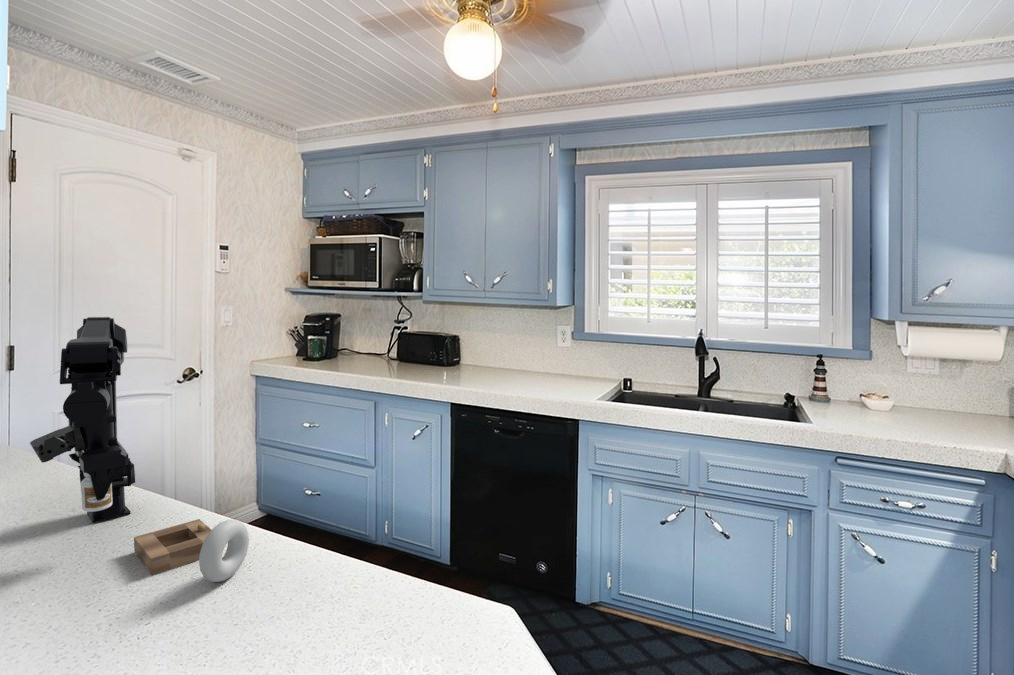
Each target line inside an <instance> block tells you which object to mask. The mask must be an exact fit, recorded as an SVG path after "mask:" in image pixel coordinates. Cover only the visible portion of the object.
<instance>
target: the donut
mask: <svg viewBox="0 0 1014 675" xmlns="http://www.w3.org/2000/svg"><path fill="white" fill-rule="evenodd" d="M249 535H250V534H249V531H248V528H247V527H246V525H245V524H244V523H243V522H242V521H241V520H238V519H227V520H224V521H221V522H219V523H218V524H217V525H215V526H214V527H213V528H212V529H211V532H210V533H209V534H208V535H207V537H206V539H205V541H204V543H203V545H202V548H201V551H200V556H199V560H198V563H199V571H200V572H201V575H202V577H203V578H204V579H206V580H207V581H210V582H212V583H217V582H224V581H226V580H227V579H229V578H231V577H232V576H233V575H235V573H236V572H238V571H239V569H240V568H241V566H242V564H243V563H244V561H245V558H246V556H247V554H248V549H249V545H250V538H249V537H250V536H249ZM226 546H227V547H226ZM225 547H226V551H225V554H224V555H223V553H224V550H225Z"/></svg>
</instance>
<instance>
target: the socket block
mask: <svg viewBox="0 0 1014 675" xmlns="http://www.w3.org/2000/svg"><path fill="white" fill-rule="evenodd" d="M211 530H212V529H211V528H210V526H208V525H207V524H205V523H204V522H203V521H202V520H201V519H200V518H197V519H194V520H191V521H187V522H184V523H181V524H177V525H173V526H169V527H165V528H163V529H162V528H161V529H159V530H154V531H152V532H147V533H144V534H141V535H136V536H134V537H133V544H134V546H133V547H134V554H135V555H136V557H138V559H139V560H140V562H141V563H142V564H143V566H144V567H145V568H146V569H147V571H148V572H149V574H150V575H151V576H154V575H157V574H161V573H164V572H167V571H169V570H173V569H176V568H179V567H181V566H185V565H188V564H192V563H194V562H197V561H199V556H200V551H201V548H202V545H203V543H204V541H205V539H206V537H207V535H208V534H209V533H210V532H211Z"/></svg>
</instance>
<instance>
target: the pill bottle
mask: <svg viewBox="0 0 1014 675" xmlns="http://www.w3.org/2000/svg"><path fill="white" fill-rule="evenodd" d="M83 474H84V476H85V477H86V478H84V479H83V480H82V481H81V483H80V491H81V509H82V510H83V512H86V513H87V512H95V511H100V510H104V509H106V508H109V507H110V506H111V505H112V483H111V485H110V487H109V489H108V491H107V493H106V496H105V498H104V499H100V500H97V499H96V497H95V493H94V490H93V486H92V483H91V479H90V476H89V474H87V473H83Z"/></svg>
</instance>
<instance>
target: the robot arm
mask: <svg viewBox="0 0 1014 675" xmlns="http://www.w3.org/2000/svg"><path fill="white" fill-rule="evenodd" d="M60 352H61V353H60V369H59V371H60V372H59V385H71V388H70V389H71V390H70V393H69V394H68V396H67V397H66V398H65V400H64V403H63V405H62V411H63V414H64V416H65V417H66V418H67V419H68V426H65V427H62V428H59V429H56V430H54V431H52V432H49V433H47V434H46V433H45V435H42V436H40V437H37V438H35V439H33V440H31V441H30V442H29V444H30V446H31V448H32V449H33V451H34V452H35V454H36V457H38V459H39V461H40V462H41V463H47V462H49V461H52V460H54V458H56V457H58V456H60V455H63V454H64V453H67V452H72V449H73V450H74V452H73V453H69V454H68V456H69V457H70V459H71V460H72V461H74V462H76V463H78V464H79V465H77V467H78V469H79V482H80V484H81V481H82V480H83V479H84V478H86V477H85V476H84V474H83V473H87V474H89V476H90V479H91V483H92V486H93V490H94V493H95V497H96V499H97V500H100V499H104V498H105V496H106V493H107V491H108V489H109V487H110V485H111V483H112V505H111V506H110V507H109V508H106V509H104V510H100V511H95V512H87V511H86V514H87V516H88V517H89V519H90V520H91V521H92V523H99V522H103V521H106V520H110V519H115V518H119V517H124V516H127V515H130V514H131V510H130V509H129V508H128V506H126V496H125V487H131V486H132V485H134V484H135V483H136V472H135V470H136V469H135V464H134V463H133V462H132V460H131V457H129V453H128V452H127V450H125V448H124V446H123V445H122V444H121V443H120V442H119V440H118V418H117V416H118V414H117V413H118V410H117V379H118V376H122V371H121V370H122V365H123V363H124V360H125V354H126V353H128V336H127V330H126V329H125V328H123V327H121V325H119V324H117V323H115V318H113V317H112V318H111V316H98V317H97V316H91V317H86V318H83V319H82V325H81V327H79V328H78V329H77V330H76V338H74V339H70V340H69V341H68V342H67V343H66V346H65V347H63V348H61V351H60Z"/></svg>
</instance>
